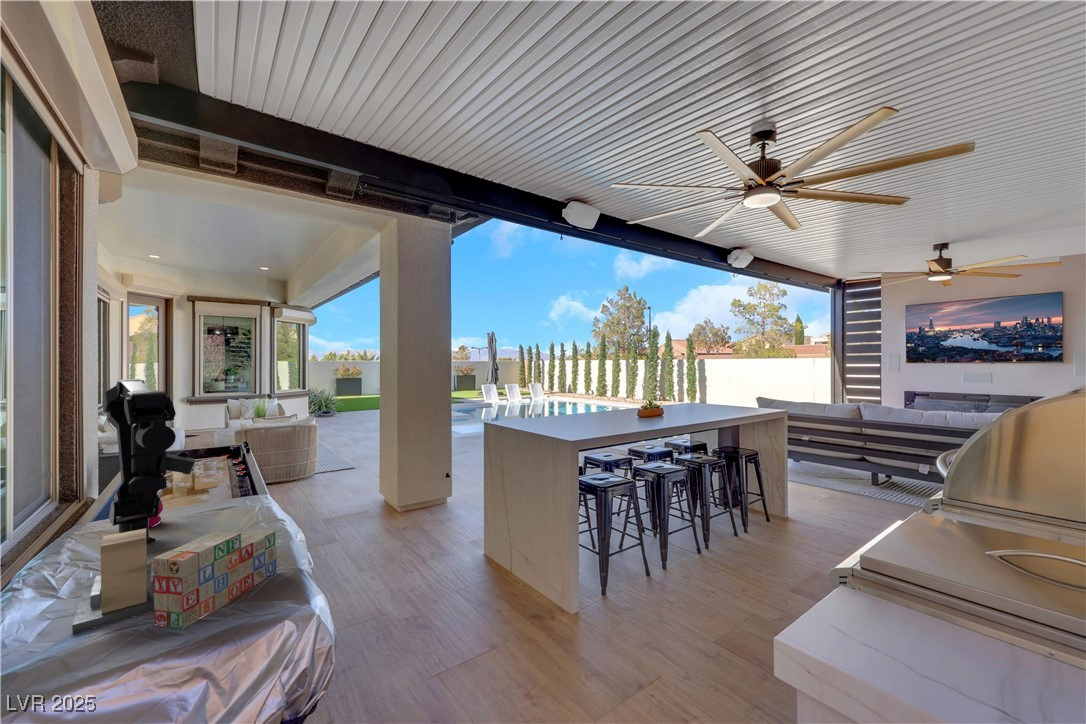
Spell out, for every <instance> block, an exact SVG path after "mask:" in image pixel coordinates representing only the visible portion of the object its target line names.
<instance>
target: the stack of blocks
mask: <svg viewBox="0 0 1086 724" xmlns="http://www.w3.org/2000/svg"><path fill="white" fill-rule="evenodd" d="M152 562H153V569H154V575H153V592H154V612H153V625H154V624H157V625H163V626H167V627H166V628H170V627H175V628H174V629H177V628H182V629H181V630H184V629H183V628H185V627H186V628H188V627H189V626H188V625H190V624H191V625H192V623H193V622H195V621H196V620H198V619H199V618H200V617H202V616H204V615H205V614H207V613H209V612H211V611H213V610H215V609H216V610H218V609H219V608H221V607H223V606H225V605H226V604H228V603H229V602H230V601H233V600H234V599H235V598H237V597H239V596H240V595H241V594H243V593H245V592H247V591H248V590H250V589H251V588H253V587H255V586H256V584H257V585H258V584H259V582H260V583H261V582H263V581H265V580H266V579H265V578H266V577H268V576H269V575H271V574H272V573H274V572H275V571H276V572H277V545H276V531H275V530H267V529H266V530H265V529H264V530H262V529H249V530H247V531H245V532H243V533H240V532H232V531H231V532H229V531H228V532H227V531H225V532H224V531H212V532H210V533H207V534H205V535H202V536H200V537H198V538H196V539H193V540H192V541H189V542H188V543H185V544H183V545H180V546H179V547H176V548H173V549H171V550H169V551H166V552H163V553H162V554H159V555H156V556H154V557H153V558H152ZM271 576H272V575H271ZM268 578H269V577H268ZM264 579H265V580H264ZM262 580H263V581H262ZM216 610H215V611H216ZM213 612H214V611H213ZM198 621H199V620H198ZM196 622H197V621H196ZM196 622H195V623H196ZM193 624H194V623H193ZM191 625H190V626H191ZM187 626H188V627H187ZM186 628H185V629H186Z"/></svg>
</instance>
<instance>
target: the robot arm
mask: <svg viewBox="0 0 1086 724" xmlns="http://www.w3.org/2000/svg"><path fill="white" fill-rule="evenodd" d="M102 410H103V413H106V420H107V422H109V423H110V425H112V426H113V427H114V428H115V429H116V437H117V447H118V449H117V450H118V457H119V459H118V460H119V469H120V470H119V471H120V479H121V485H120V486H119V488H118V489H117V491H116V492H115V494H114V497H113V498H114V500H112V501H111V505H110V509H109V512H108V513H109V515H108V516H109V523H110V524H111V525H112V526H113V527H114V526H118V533H124V532H129V531H135V530H140V529H145V528H146V545H147V544H150V543H153V542H156V540H157V539H156V538H154V537H151V536H150V528H149V518H151V517H157V515H158V514H159V504H160V500H161V497H159V495H158V493H159V491H161V490H165V489H167V487H168V486H167V481H168V480H167V476H166V475H167V471H170V472H174V473H180V474H181V473H182V475H191V472H192V471H193V468H194V465H195V464H196V459H195V458H193V457H189V453H188V451H182V450H181V451H179V452H178V453H176V454H168V453H167V450H169V449H170V448H172V446H173V445H174V444H175V442H176V437H177V436H176V433H175V431H174V430H173V429H172V428H171V427H170V426H168V425H167V423H166V422H174V421H175V417H176V413H177V412H176V410H175V407H174V403H173V400H172V399H171V397H170V395H167V393H166V392H165V391H163V390H152V389H150V388H149V387H148V386H147V385H146V383H145V380H144V379H142V380H141V379H140V378H134V379H133V378H132V379H120V380H117V382H116V385H114V386H113V387H111V388H110V389H107V391H105V392H104V395H103V400H102ZM159 515H160V514H159ZM159 515H158V516H159Z"/></svg>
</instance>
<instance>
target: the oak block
mask: <svg viewBox="0 0 1086 724" xmlns="http://www.w3.org/2000/svg"><path fill="white" fill-rule="evenodd" d="M147 550H148V549H147V544H146V528H145V529H140V530H135V531H129V532H124V533H119V532H118V533H114V534H108V535H104V536H103V537H102V540H101V543H100V575H101V614H103V613H106V612H110V611H114V610H118V609H122V608H125V607H129V606H133V605H137V604H141V603H144V602H146V600H147V563H148V562H147V559H148V558H147V557H148V555H147Z"/></svg>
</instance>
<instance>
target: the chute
mask: <svg viewBox="0 0 1086 724" xmlns="http://www.w3.org/2000/svg"><path fill="white" fill-rule="evenodd" d="M153 575H154V569H153V563H152V562H151V563H148V564H147V600H146V602H144V603H141V604H137V605H133V606H129V607H125V608H122V609H118V610H114V611H110V612H106V613H103V614H101V574H99V575H93V576H89V577H87V579H86V582H85V585H84V588H83V591H82V595H81V597H80V600H79V604H78V607H77V608H76V609H77V610H76V612H75V616H74V619H73V622H72V624H71V625H72V627H71V628H72V635H73V634H77V633H81V632H84V630H85V631H88V630H91V628H92V629H94V627H96V628H99V627H102V626H106V625H110V624H114V623H117V621H118V622H121V621H124V620H128V619H132V618H135V617H134V616H136V617H140V616H143V615H146V614H145V613H147V614H150V613H154V612H153V611H154V592H153ZM149 612H150V613H149ZM142 614H143V615H142ZM131 617H132V618H131ZM87 629H88V630H87ZM80 631H81V632H80Z"/></svg>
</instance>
